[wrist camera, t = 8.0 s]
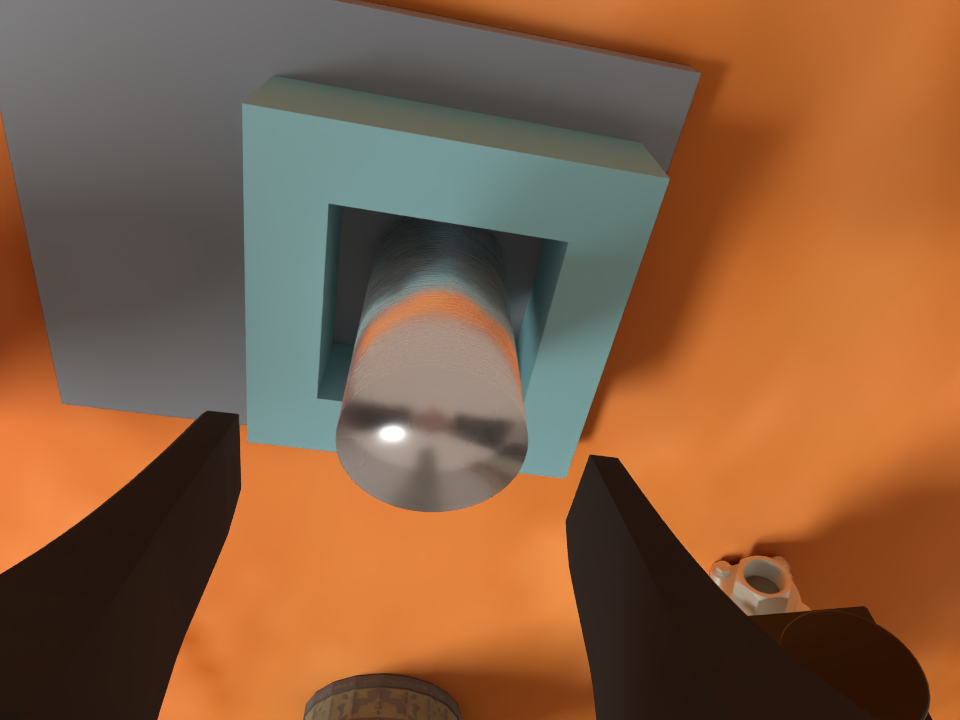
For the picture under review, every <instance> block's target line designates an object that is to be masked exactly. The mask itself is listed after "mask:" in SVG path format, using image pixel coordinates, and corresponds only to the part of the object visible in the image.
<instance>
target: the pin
mask: <svg viewBox="0 0 960 720" xmlns="http://www.w3.org/2000/svg"><path fill="white" fill-rule="evenodd" d="M335 441H336V450H337V453H338V457H339V460H340V462H341V464H342V466H343V468H344V470H345V471H346V473H347V474H348V475H349V477H350V478H351V479H352V480H353V481H354V482H355V483H356V484H357V485H358V486H359V487H360V488H361V489H363V490H364V491H365V492H367V493H368V494H370V495H371V496H373V497H375V498H377V499H379V500H381V501H383V502H385V503H388V504H390V505H393V506H396V507H400V508H403V509H408V510H413V511H422V512H443V511H452V510H458V509H463V508H466V507H470V506H473V505H475V504H478V503H481V502H483V501H485V500H487V499H489V498H491V497H492V496H494V495H495V494H497V493H499V492H500V491H501V490H503V489H504V488H505V487H506V486H507V485H508V484H509V483H510V482H511V481H512V480H513V479H514V478H515V477H516V475H517V474H518V472H519V471H520V469H521V467H522V465H523V463H524V461H525V458H526V454H527V450H528V431H527V424H526V416H525V409H524V402H523V395H522V388H521V381H520V374H519V367H518V360H517V352H516V345H515V338H514V331H513V324H512V317H511V310H510V303H509V296H508V288H507V281H506V274H505V267H504V260H503V255H502V251H501V249H500V246H499V244H498V242H497V240H496V238H495V237H494V235H493V234H492V233H491V231H490V230H489V229H484V228H478V227H472V226H465V225H459V224H453V223H447V222H440V221H434V220H428V219H422V218H416V217H409V216H403V217H401V218H400V219H398V220H397V221H396V222H394V223H393V224H392V225H391V226H390V227H389V228H388V229H387V230H386V231H385V233H384V234H383V235H382V237H381V239H380V241H379V243H378V245H377V248H376V251H375V255H374V259H373V264H372V268H371V273H370V278H369V282H368V287H367V291H366V296H365V300H364V305H363V310H362V314H361V319H360V323H359V328H358V333H357V337H356V342H355V346H354V351H353V355H352V360H351V365H350V369H349V374H348V378H347V383H346V388H345V392H344V397H343V401H342V406H341V410H340V415H339V420H338V424H337V429H336V439H335Z"/></svg>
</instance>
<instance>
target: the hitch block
mask: <svg viewBox="0 0 960 720" xmlns="http://www.w3.org/2000/svg"><path fill="white" fill-rule="evenodd" d="M700 76H701V73H700V72H698V71H697V70H695V69H694V68H692V67H691V66H687V65H682V64H677V63H672V62H667V61H662V60H657V59H652V58H647V57H642V56H637V55H632V54H627V53H622V52H617V51H612V50H607V49H602V48H597V47H592V46H587V45H582V44H577V43H572V42H567V41H562V40H557V39H552V38H547V37H542V36H537V35H532V34H527V33H522V32H517V31H512V30H507V29H502V28H497V27H492V26H487V25H482V24H477V23H472V22H467V21H462V20H457V19H452V18H447V17H442V16H437V15H432V14H427V13H422V12H417V11H412V10H407V9H402V8H397V7H392V6H387V5H382V4H377V3H372V2H367V1H362V0H0V112H1V117H2V122H3V126H4V131H5V136H6V141H7V145H8V150H9V155H10V160H11V164H12V169H13V174H14V179H15V183H16V188H17V193H18V198H19V202H20V207H21V212H22V216H23V221H24V226H25V231H26V235H27V240H28V245H29V250H30V254H31V259H32V264H33V269H34V273H35V278H36V283H37V288H38V292H39V297H40V302H41V307H42V311H43V316H44V321H45V326H46V330H47V335H48V340H49V345H50V349H51V354H52V359H53V364H54V368H55V373H56V378H57V383H58V387H59V392H60V397H61V402H62V404H68V405H76V406H85V407H94V408H102V409H111V410H119V411H128V412H136V413H145V414H153V415H162V416H170V417H179V418H187V419H197V418H198V417H199V416H200V415H201V414H203V413H204V412H206V411H207V410H209V411H218V412H226V413H235V414H239V425H247V442H252V443H261V444H270V445H279V446H287V447H296V448H305V449H314V450H322V451H331V452H337V450H336V441H335V439H336V429H337V424H338V420H339V415H340V410H341V406H342V401H343V397H344V392H345V388H346V383H347V378H348V374H349V369H350V365H351V360H352V355H353V351H354V346H355V342H356V337H357V333H358V328H359V323H360V319H361V314H362V310H363V305H364V300H365V296H366V291H367V287H368V282H369V278H370V273H371V268H372V264H373V259H374V255H375V251H376V248H377V245H378V243H379V241H380V239H381V237H382V235H383V234H384V233H385V231H386V230H387V229H388V228H389V227H390V226H391V225H392V224H393V223H394V222H396V221H397V220H398V219H400V218H401V217H403V216H409V217H416V218H422V219H428V220H434V221H440V222H447V223H453V224H459V225H465V226H472V227H478V228H484V229H489V230H490V231H491V233H492V234H493V235H494V237H495V238H496V240H497V242H498V244H499V246H500V249H501V251H502V255H503V260H504V267H505V274H506V281H507V288H508V296H509V303H510V310H511V317H512V324H513V331H514V338H515V345H516V352H517V360H518V367H519V374H520V381H521V388H522V395H523V402H524V409H525V416H526V424H527V431H528V450H527V454H526V458H525V461H524V463H523V465H522V467H521V469H520V471H519V472H518V473H523V474H532V475H541V476H549V477H558V478H566V476H567V473H568V470H569V467H570V464H571V461H572V458H573V456H574V453H575V450H576V447H577V444H578V441H579V438H580V436H581V433H582V430H583V427H584V424H585V421H586V418H587V415H588V413H589V410H590V407H591V404H592V401H593V398H594V395H595V393H596V390H597V387H598V384H599V381H600V378H601V375H602V373H603V370H604V367H605V364H606V361H607V358H608V355H609V352H610V350H611V347H612V344H613V341H614V338H615V335H616V332H617V330H618V327H619V324H620V321H621V318H622V315H623V312H624V310H625V307H626V304H627V301H628V298H629V295H630V292H631V289H632V287H633V284H634V281H635V278H636V275H637V272H638V269H639V267H640V264H641V261H642V258H643V255H644V252H645V249H646V246H647V244H648V241H649V238H650V235H651V232H652V229H653V226H654V224H655V221H656V218H657V215H658V212H659V209H660V206H661V204H662V201H663V198H664V195H665V192H666V189H667V186H668V183H669V181H670V178H669V177H668V176H667V172H668V169H669V166H670V163H671V160H672V157H673V154H674V151H675V148H676V146H677V143H678V140H679V137H680V134H681V131H682V128H683V125H684V122H685V119H686V117H687V114H688V111H689V108H690V105H691V102H692V99H693V96H694V93H695V90H696V88H697V85H698V82H699V79H700Z"/></svg>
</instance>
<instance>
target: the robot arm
mask: <svg viewBox="0 0 960 720" xmlns="http://www.w3.org/2000/svg"><path fill="white" fill-rule="evenodd" d="M240 490H241V466H240V430H239V414H235V413H226V412H218V411H209V410H207V411H206V412H204V413H203V414H201V415H200V416H199V417H198V418H197V419H196V420H195V421H194V422H193V423H192V424H191V425H190V426H189V427H188V428H187V429H186V430H185V431H184V432H183V433H182V434H181V435H180V436H179V437H178V438H177V439H176V440H175V441H174V442H173V443H172V444H171V445H170V446H169V447H168V448H167V449H166V450H165V451H163V452H162V453H161V454H160V455H159V456H158V457H157V458H156V459H155V460H154V461H153V462H151V463H150V464H149V465H148V466H147V467H146V468H145V469H144V470H143V471H141V472H140V473H139V474H138V475H137V476H136V477H135V478H134V479H132V480H131V481H130V482H129V483H128V484H127V485H125V486H124V487H123V488H122V489H121V490H119V491H118V492H117V493H116V494H114V495H113V496H112V497H111V498H109V499H108V500H107V501H106V502H104V503H103V504H102V505H101V506H99V507H98V508H97V509H96V510H95V511H93V512H92V513H91V514H89V515H88V516H87V517H85V518H84V519H83V520H81V521H80V522H79V523H77V524H76V525H75V526H73V527H72V528H70V529H69V530H68V531H66V532H65V533H63V534H62V535H61V536H59V537H58V538H56V539H55V540H53V541H52V542H50V543H49V544H47V545H46V546H45V547H43V548H42V549H40V550H39V551H37V552H35V553H34V554H32V555H31V556H29V557H27V558H26V559H24V560H23V561H21V562H20V563H18V564H16V565H15V566H13V567H12V568H10V569H8V570H7V571H5V572H3V573H2V574H0V720H157V719H158V716H159V712H160V709H161V706H162V703H163V699H164V696H165V693H166V690H167V687H168V683H169V680H170V677H171V674H172V671H173V668H174V664H175V661H176V658H177V655H178V653H179V650H180V648H181V645H182V642H183V640H184V637H185V634H186V632H187V630H188V627H189V625H190V623H191V620H192V618H193V616H194V613H195V611H196V609H197V606H198V604H199V602H200V599H201V597H202V595H203V592H204V590H205V588H206V585H207V583H208V581H209V578H210V576H211V574H212V571H213V569H214V566H215V564H216V562H217V559H218V557H219V555H220V552H221V550H222V547H223V545H224V543H225V540H226V538H227V535H228V532H229V529H230V526H231V522H232V519H233V515H234V512H235V508H236V505H237V501H238V498H239V494H240ZM566 534H567V549H568V560H569V569H570V574H571V579H572V584H573V589H574V594H575V599H576V604H577V608H578V613H579V618H580V623H581V627H582V632H583V637H584V642H585V647H586V651H587V656H588V661H589V666H590V672H591V678H592V684H593V691H594V700H595V710H596V719H597V720H878V719H877V718H875V717H874V716H872V715H871V714H869V713H868V712H867V711H865V710H864V709H862V708H861V707H859V706H858V705H856V704H855V703H853V702H852V701H851V700H849V699H848V698H846V697H845V696H843V695H842V694H841V693H839V692H838V691H837V690H835V689H834V688H833V687H831V686H830V685H829V684H828V683H826V682H825V681H824V680H822V679H821V678H820V677H818V676H817V675H816V674H815V673H813V672H812V671H811V670H809V669H808V668H807V667H806V666H804V665H803V664H802V663H801V662H800V661H798V660H797V659H796V658H795V657H793V656H792V655H791V654H790V653H789V652H787V651H786V650H785V649H784V648H783V647H782V646H781V645H779V644H778V643H777V642H776V641H775V640H774V639H773V638H772V637H770V636H769V635H768V634H767V633H766V632H765V631H764V630H762V629H761V628H760V627H759V626H758V625H757V624H756V623H755V622H754V621H753V620H752V619H751V618H749V617H748V616H747V615H746V614H745V613H744V612H743V611H742V610H741V609H740V608H739V607H738V606H737V605H736V604H735V603H734V602H733V601H732V600H731V599H730V598H729V597H728V596H727V595H726V594H725V593H724V592H723V591H722V590H721V589H720V587H719V586H718V585H717V584H716V583H715V582H714V581H713V580H712V579H711V578H710V577H709V576H708V574H707V573H706V572H705V571H704V570H703V569H702V567H701V566H700V565H699V564H698V563H697V562H696V561H695V559H694V558H693V557H692V556H691V555H690V554H689V552H688V551H687V550H686V549H685V548H684V546H683V545H682V544H681V543H680V541H679V540H678V539H677V538H676V536H675V535H674V534H673V533H672V531H671V530H670V529H669V527H668V526H667V525H666V524H665V522H664V521H663V520H662V518H661V517H660V516H659V514H658V513H657V512H656V510H655V509H654V508H653V506H652V505H651V504H650V502H649V501H648V499H647V498H646V497H645V495H644V494H643V493H642V491H641V490H640V488H639V487H638V486H637V484H636V483H635V481H634V480H633V479H632V477H631V476H630V474H629V473H628V472H627V470H626V469H625V467H624V466H623V465H622V463H621V462H620V460H619V459H618V458H614V457H605V456H597V455H590V456H589V458H588V461H587V464H586V467H585V470H584V472H583V475H582V478H581V481H580V483H579V486H578V489H577V492H576V494H575V497H574V500H573V503H572V505H571V508H570V511H569V514H568V516H567V519H566Z"/></svg>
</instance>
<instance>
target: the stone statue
mask: <svg viewBox="0 0 960 720" xmlns="http://www.w3.org/2000/svg"><path fill="white" fill-rule="evenodd" d="M303 720H461V717H460V712H459V707H458V705H457V703H456V702H455V701H454V700H453V699H452V698H451V696H450V695H449V694H448V693H446V692H445V691H443V690H441V689H440V688H438V687H436V686H434V685H433V684H431V683H428V682H424V681H421V680H418V679H414V678H411V677H407V676H397V675H387V674H376V675H363V676H355V677H351V678H347V679H344V680H340V681H336V682H333V683H331V684H330V685H328V686H326V687H324V688H323V689H321V690H319V691H317V692H316V693H315V694H314V695H313V697H312V698H311V699H310V700H309V701H308V703H307V704H306V708H305V713H304V719H303Z"/></svg>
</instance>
